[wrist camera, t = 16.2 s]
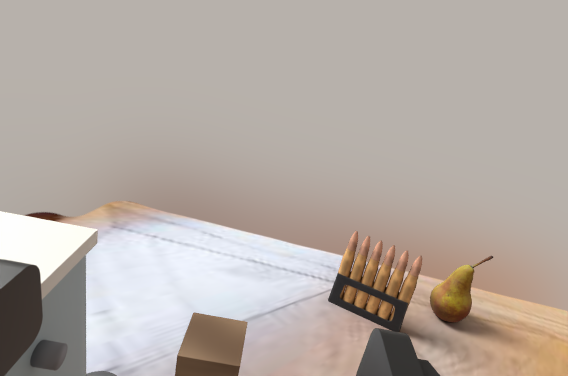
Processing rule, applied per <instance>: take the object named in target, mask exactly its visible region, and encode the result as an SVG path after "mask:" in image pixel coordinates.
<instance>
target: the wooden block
mask: <svg viewBox="0 0 568 376" xmlns="http://www.w3.org/2000/svg"><path fill="white" fill-rule="evenodd" d="M246 328H247V322H244V321H239V320H233V319H227V318H222V317H216V316H210V315H205V314H199V313H193V315H192V318H191V321H190V323H189V326H188V329H187V331H186V334H185V337H184V339H183V342H182V345H181V347H180V350H179V353H178V355H177V363H176V372H175V376H238V373H239V368H240V363H241V357H242V351H243V345H244V340H245V334H246Z"/></svg>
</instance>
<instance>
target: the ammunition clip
mask: <svg viewBox="0 0 568 376" xmlns="http://www.w3.org/2000/svg"><path fill="white" fill-rule="evenodd" d="M357 242H358V232H357V231H356V232H355V233H354V234H353V235H352V237H351V239H350V241H349V244H348V247H347V249H346V252H345V254H344V255H343V258H342V261H341V265H340V268H339V271H338V274H337V277H336V280H335V282H334V285H333V288H332V291H331V293H330V296H329V299H328V301H329V302H331V303H333V304H335V305H338V306H340V307H342V308H344V309H346V310H348V311H351V312H353V313H355V314H357V315H359V316H361V317H364V318H366V319H368V320H370V321H372V322H374V323H377V324H379V325H381V326H383V327H385V328H387V329H389V330H392V331H395V332H399V331H400V328H401V325H402V322H403V319H404V316H405V313H406V311H407V308H408V305H409V303H410V300H411V298H412V295H413V293H414V290H415V288H416V284H417V279H418V275H419V273H420V269H421V265H422V256H419V257H418V258H417V259H416V260H415V262H414V263H413V265H412V267H411V269H410V272H409V273H408V276H407V277H406V279H405V280H404V283H403V285H402V288H401V290H400V287H401V284H402V282H403V276H404V273H405V269H406V266H407V262H408V251H405V252H404V253H403V255H402V256H401V258H400V259H399V261H398V264H397V266H396V268H395V270H394V272H393V274H392V275H391V278H390V280H389V277H390V272H391V267H392V263H393V260H394V256H395V246H394V245H393V246H392V247H391V248H390V249H389V251H388V252H387V254H386V256H385V259H384V261H383V263H382V266H381V267H380V269H379V271H378V264H379V261H380V257H381V253H382V241H379V242H378V244H377V245H376V247H375V248H374V251H373V253H372V256H371V258H370V260H369V262H368V264H367V266H366V259H367V255H368V251H369V247H370V237H369V236H367V237H366V239H365V240H364V242H363V243H362V246H361V248H360V251H359V253H358V256H357V258H356V259H355V261H354V255H355V251H356V247H357ZM353 262H354V264H353ZM352 265H353V268H352ZM365 266H366V269H365ZM351 268H352V271H351ZM364 269H365V271H364ZM377 271H378V273H377ZM363 272H364V274H363ZM376 274H377V276H376ZM362 275H363V277H362ZM375 277H376V279H375ZM374 280H375V282H374ZM388 280H389V283H388V286H387V287H386V285H387V282H388ZM346 285H347V286H346ZM345 288H346V289H345ZM399 290H400V293H399ZM344 291H345V292H344ZM357 291H358V292H357ZM356 294H357V295H356ZM369 294H370V296H369ZM355 297H356V298H355ZM368 297H369V299H368ZM367 300H368V302H367ZM381 300H382V302H381ZM380 302H381V304H380ZM379 305H380V307H379ZM393 306H394V308H393ZM392 308H393V311H392ZM391 311H392V313H391Z"/></svg>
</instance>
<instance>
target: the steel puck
mask: <svg viewBox="0 0 568 376" xmlns="http://www.w3.org/2000/svg"><path fill="white" fill-rule="evenodd" d="M86 376H116V375H115V374H113V373H110V372H106V371H97V372H91V373H88V374H86Z"/></svg>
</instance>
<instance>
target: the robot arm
mask: <svg viewBox="0 0 568 376" xmlns="http://www.w3.org/2000/svg"><path fill="white" fill-rule="evenodd" d="M42 320H43V311H42V294H41V277H40V270H39V268H38V267H37V266H36V265H33V264H27V263H22V262H16V261H11V260H5V259H0V376H5V375H6V374H7V372H8V371H9V370H10V369H11V368H12V367H13V366H14V364H15V363H16V362H17V361H18V360H19V359H20V357H21V356H22V355H23V354H24V353H25V352H26V351H27V349H28V348H29V347H30V346H31V345H32V343H33V342H34V340H35V339H36V337H37V335H38V333H39V331H40V328H41V325H42ZM356 376H440V375H439V374H438V373H437V371H436V370H435V369H434V368H433V366H432V365H431V364H430V363H429V362H428V361H427V360H421V359H418V358H417V355H416V353H415V350H414V347H413V345H412V342H411V339H410V337H409V336H408V335H407V334H406V333H401V332H395V331H390V330H384V329H379V328H375V329H374V330H373V331H372V333H371V336H370V338H369V341H368V344H367V346H366V349H365V352H364V355H363V357H362V360H361V363H360V366H359V368H358V371H357V374H356Z"/></svg>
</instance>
